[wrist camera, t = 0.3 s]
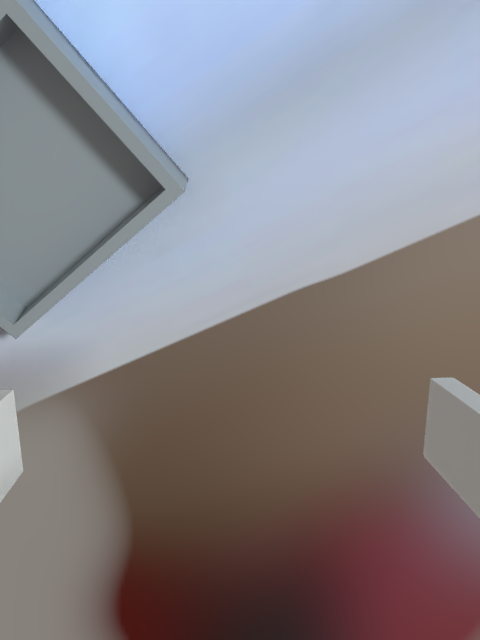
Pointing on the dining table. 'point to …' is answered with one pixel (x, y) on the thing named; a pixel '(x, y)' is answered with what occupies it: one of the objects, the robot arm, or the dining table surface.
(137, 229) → the tray
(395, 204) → the dining table surface
